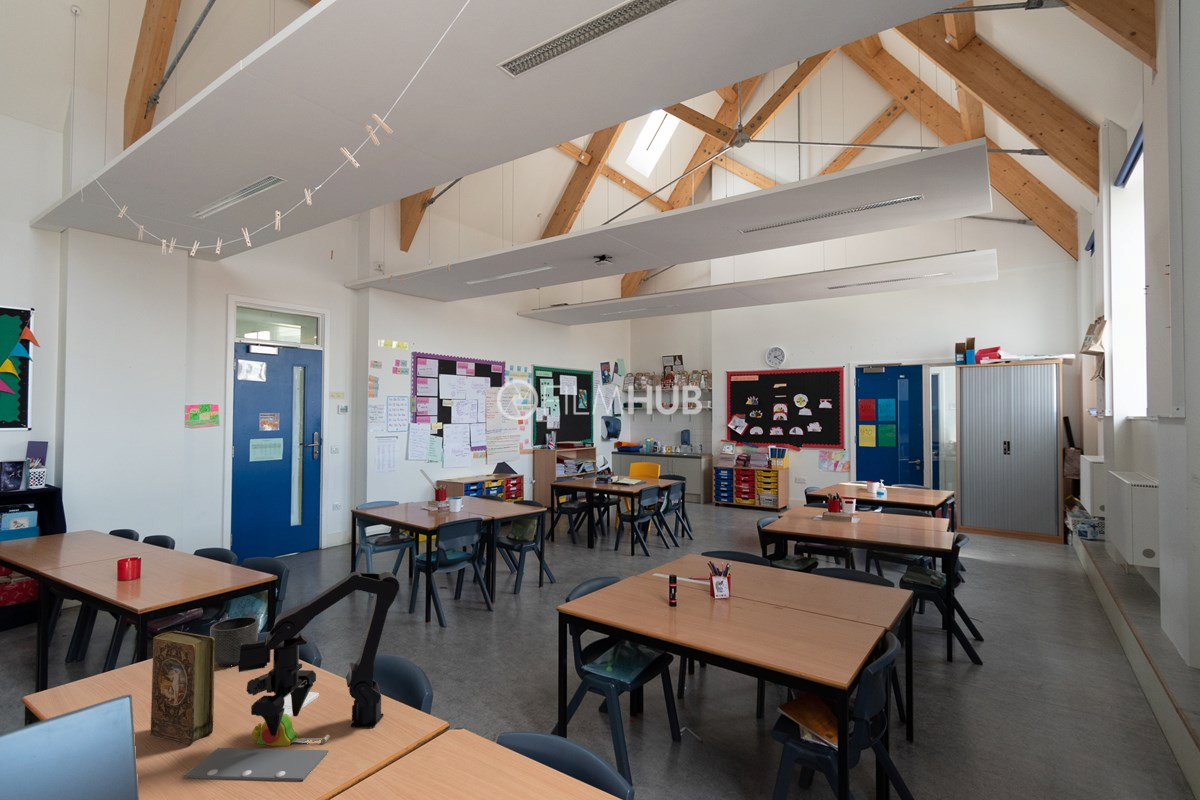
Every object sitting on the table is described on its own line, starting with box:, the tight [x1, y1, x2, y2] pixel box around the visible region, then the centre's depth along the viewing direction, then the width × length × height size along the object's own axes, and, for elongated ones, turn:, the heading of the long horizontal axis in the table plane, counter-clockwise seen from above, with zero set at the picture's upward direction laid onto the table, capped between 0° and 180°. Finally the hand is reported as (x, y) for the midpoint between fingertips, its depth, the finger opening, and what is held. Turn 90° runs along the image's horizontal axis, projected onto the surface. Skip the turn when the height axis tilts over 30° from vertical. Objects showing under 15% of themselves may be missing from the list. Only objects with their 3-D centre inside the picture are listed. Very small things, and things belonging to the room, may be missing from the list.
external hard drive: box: [283, 691, 320, 717], centre depth 162 cm, size 2×8×12 cm
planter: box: [209, 616, 260, 667], centre depth 192 cm, size 14×14×13 cm
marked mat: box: [183, 747, 329, 782], centre depth 134 cm, size 28×11×1 cm, turn 87°
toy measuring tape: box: [251, 714, 331, 747], centre depth 144 cm, size 6×19×7 cm, turn 89°
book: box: [150, 630, 215, 746], centre depth 147 cm, size 16×6×25 cm, turn 71°
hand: (284, 725), depth 144 cm, fingers open, 9 cm apart
